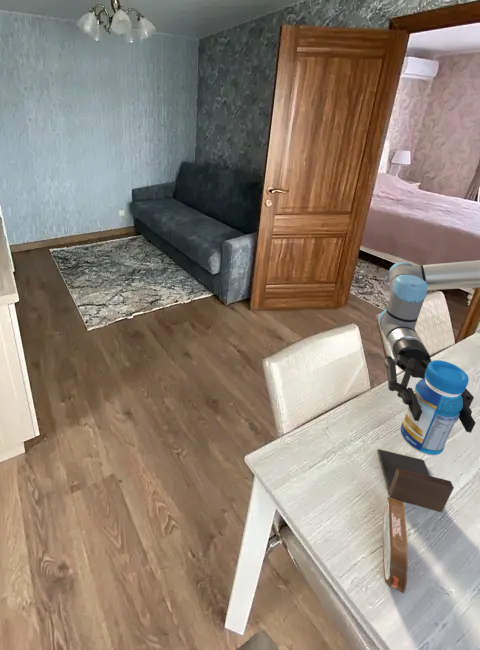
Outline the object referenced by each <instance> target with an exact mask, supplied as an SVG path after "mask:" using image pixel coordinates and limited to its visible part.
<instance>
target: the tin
mask: <svg viewBox="0 0 480 650" xmlns="http://www.w3.org/2000/svg"><path fill="white" fill-rule="evenodd" d="M404 503H405V502H402V501H399V500H396V499H394V498H391V497H389V496H387V497H386V504H385V506H384V509H383V517H382V559H383V562H382V563H383V577H384V582H385V584H386V585H387V586H389V587H390V588H392V589H394V590H396V591H398V592H400V593H401V594H404V593H405V592H406V588H407V583H408V576H409V575H408V573H409V548H408V536H407V535H408V534H407V524H406V523H407V522H406V510H405V508H406V507H405V504H404Z"/></svg>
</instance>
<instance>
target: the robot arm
mask: <svg viewBox="0 0 480 650" xmlns="http://www.w3.org/2000/svg"><path fill="white" fill-rule="evenodd" d="M387 278H388V281H389V294H390V295H389V300H388V303H387V307H386V308H385V309H384V310H383V311H381V312H380V313H379V316H378V323H379V326H380V330H381V331H382V333H383V335H384V337H385V340H386V341H387V344H388V346H389V349H390V351H391V353H392V355H386V357H385V360H384V363H383V365H384V367H385V369H386V373H387V387H388V390H389V391H390V392H397V393H396V394H397V397H398V398H400V399H401V400H402V403H403V404H404V405H407V406H408V407H409V408H410V411H411V413H412V416H413V418H414V420H415V421H419V419H420V416H421V414H422V410H421V408H420V405H419V403H418V401H417V399H416V396H415V394H414V392H413V391H414V389H413V388H412V387H410V386H409V382H410V379H411V378H414V379H415V378H417V379H421V380H422V379H423V378H425V372H426V369H427V366H428V364H429V363H430V362H431V361H432V358H431V355H430V353H429V351H428V349H427V348H426V346H425V344H424V342H423V341H422V338H421V337H420V335H419V334H418V332H417V330H416V325H417V323H418V319H419V316H420V314H421V310H422V308H423V304H424V302H425V300H426V298H427V293H428V291H436V290H455V289H456V290H458V289H476V288H480V259H477V260H465V261H454V262H443V263H442V262H441V263H430V264H420V265H413V264H412V263H410V262H406V261H398V262H396V263H394V264H393V265H392V266H390V268H389V272H388V277H387ZM392 356H393V357H392ZM397 367H398V368H399V369H400V370H401V371H403V372H404V374H403V377H402V379H401V382H400V383H399V382H398V377H397ZM408 386H409V387H408ZM461 396H462V399H463V408H462V410H461V411H460V416H459V419H458V420H459V421H460V423H461V425H462V426H463V429H464V430H465V432H466V433H470V434H471V433H472V431H473V429H474V428H475V425H476V421H475V419H474V417H473V416H472V413H473V411H472V408H471V405H472V403H473V400H474V399H475V397H474V396H473V394H472V393H471V392H470V390H468V389H467V388H466V389H465V391H464V392H463V393H462V394H461Z"/></svg>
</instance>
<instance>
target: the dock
mask: <svg viewBox="0 0 480 650" xmlns="http://www.w3.org/2000/svg"><path fill="white" fill-rule="evenodd" d="M376 453H377V456H378V460H379V463H380V467H381V471H382V475H383V478H384V482H385V486H386V490H387V493H388V497H391V498H394V499H396V500H399V501H402V502H403V503H406V504H409V505H412V506H413V505H414V506H417V507H421V508H424V509H427V510H430V511H431V510H432V511H435V512H439V513H443V511H444V509H445V508H446V505H447V503H448V501H449V498H450V496H451V495H452V493H453V491H454V486H453V483H452V481H451V480H447V479H444V478H440V477H436V476H432V475H430V472H429V470H428V468H427V464H426V462H425V460H424V459H421V458H418V457H412V456H409V455H405V454H400V453H396V452H392V451H387V450H383V449H379V448H378V449H377V451H376Z"/></svg>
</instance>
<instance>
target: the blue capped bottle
mask: <svg viewBox="0 0 480 650" xmlns="http://www.w3.org/2000/svg"><path fill="white" fill-rule="evenodd" d="M469 380H470V378H469V375H468V374H467V373H466V371H464V369H462V368H461V367H459V366H458V365H455V364H453V363H452V362H449V361H445V360H439V359H436V360H431V362H430V363H429V364H428V366H427V369H426V372H425V378H423V379H422V378H421V379H420V380H419V381H418V382H417V383H416V384H415V387H414V390H413V392H414V394H415V396H416V399H417V401H418V403H419V405H420V408H421V410H422V414H421V416H420V419H419V421H415V420H414V418H413V416H412V413H411V411H410V408H409V406H408V408H407V410H406V413H405V416H404V419H403V421H402V423H401V425H400V430H399V431H400V435H401V437H402V439H403V440H404V442H405V443H406V444H407V445H408V446H409V447H411V448H412V449H413V450H414V451H417V452H418V453H420V454H423V455H426V456H431V457H435V456H439V455H441V454H443V452H444V449H445V447H446V443H447V441H448V439H449V436H450V434H451V433H452V430H453V428H454V426H455V424H456V423H457V422H458V421H459V420H460V419H459V416H460V411H461V410H462V408H463V399H462V396H461V394H462V393H463V392H464V391H465V389H467V386H468V385H469Z"/></svg>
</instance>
